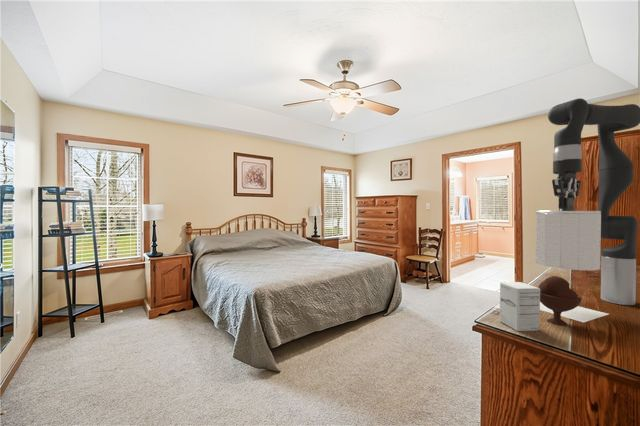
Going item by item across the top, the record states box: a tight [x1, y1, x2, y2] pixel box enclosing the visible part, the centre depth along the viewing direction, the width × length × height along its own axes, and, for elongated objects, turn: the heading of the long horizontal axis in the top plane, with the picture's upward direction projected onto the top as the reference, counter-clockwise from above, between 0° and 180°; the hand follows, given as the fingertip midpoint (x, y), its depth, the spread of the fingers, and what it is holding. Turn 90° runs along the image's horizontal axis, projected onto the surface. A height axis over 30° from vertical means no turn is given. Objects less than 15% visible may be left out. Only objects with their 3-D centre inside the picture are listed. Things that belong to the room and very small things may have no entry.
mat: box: [540, 302, 610, 324], centre depth 98 cm, size 17×17×1 cm
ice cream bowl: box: [537, 275, 583, 327], centre depth 87 cm, size 11×11×15 cm
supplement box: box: [499, 281, 541, 332], centre depth 85 cm, size 7×7×13 cm
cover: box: [534, 198, 602, 271], centre depth 98 cm, size 17×17×24 cm
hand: (566, 208), depth 98 cm, fingers closed on cover, 4 cm apart
